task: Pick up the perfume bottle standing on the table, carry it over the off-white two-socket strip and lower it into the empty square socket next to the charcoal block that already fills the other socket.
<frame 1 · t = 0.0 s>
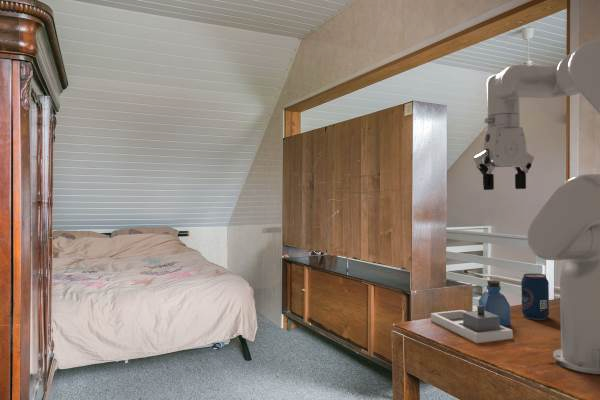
hand: (504, 189, 117), 37 cm above the table, tool pointing down, fingers open, 9 cm apart
charcoal plug block: (481, 334, 112), resting on socket strip
soda can: (535, 317, 130), on the table
perfume bottle: (494, 326, 123), on the table
socket strip: (469, 332, 117), on the table
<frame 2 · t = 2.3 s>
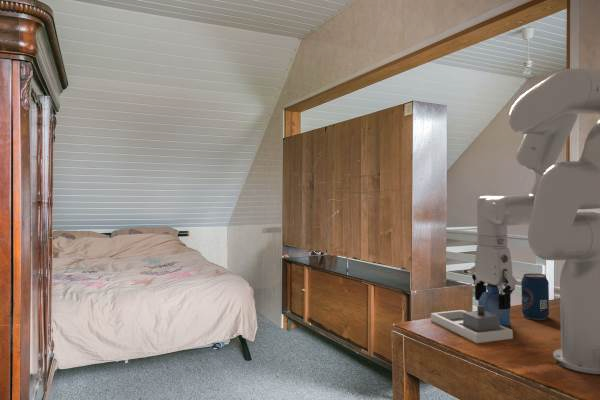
hand: (492, 304, 123), 6 cm above the table, tool pointing down, fingers open, 9 cm apart
nothing on the table moved.
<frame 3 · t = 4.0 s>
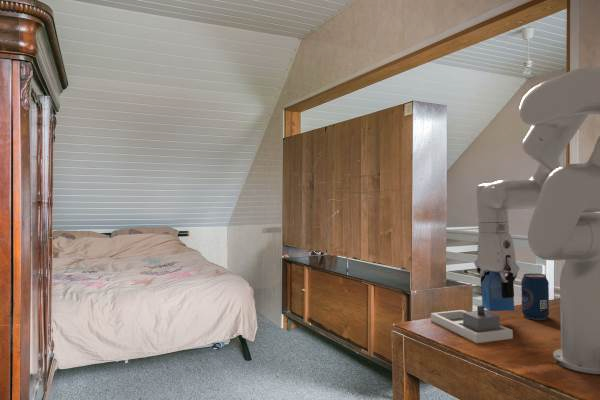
hand: (497, 294, 121), 9 cm above the table, tool pointing down, fingers closed on perfume bottle, 7 cm apart
perfume bottle: (498, 309, 121), point 5 cm above the table, touching gripper
everything else where it was.
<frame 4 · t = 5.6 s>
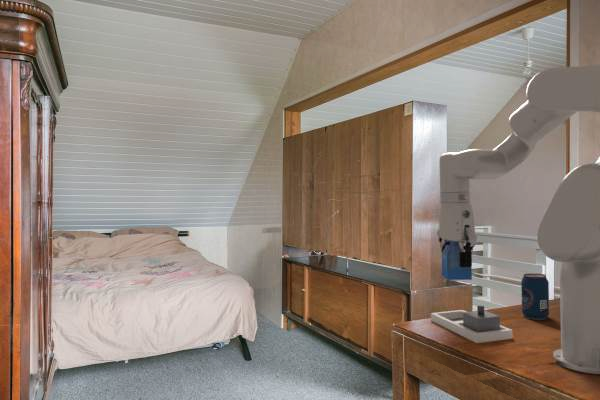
hand: (456, 264, 122), 17 cm above the table, tool pointing down, fingers closed on perfume bottle, 7 cm apart
perfume bottle: (456, 278, 122), point 13 cm above the table, touching gripper
everything else where it was.
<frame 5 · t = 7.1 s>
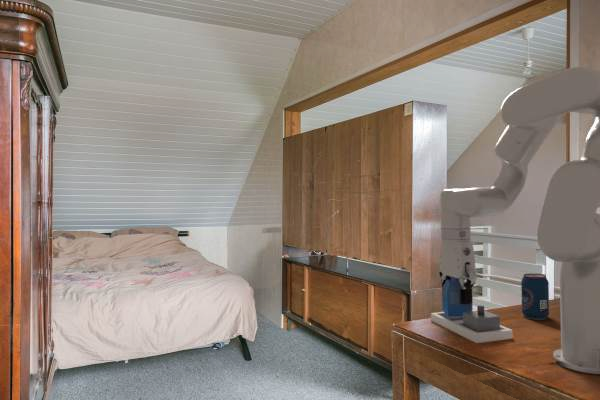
hand: (456, 299, 122), 7 cm above the table, tool pointing down, fingers closed on perfume bottle, 7 cm apart
perfume bottle: (456, 313, 122), point 4 cm above the table, touching gripper
everything else where it was.
when the fingers open (6 cm above the table, at t = 8.2 s): perfume bottle stays where it is, resting on socket strip.
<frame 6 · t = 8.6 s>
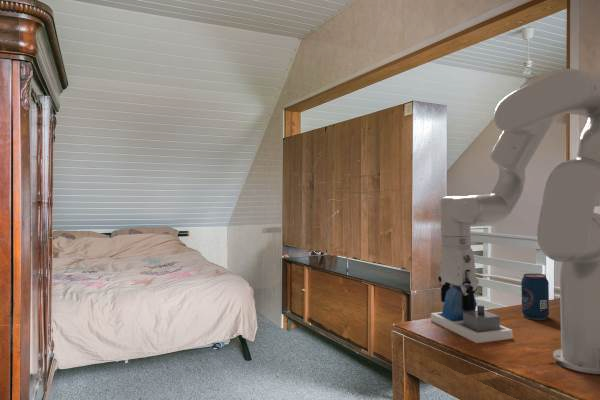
hand: (457, 305, 122), 6 cm above the table, tool pointing down, fingers open, 9 cm apart
perfume bottle: (456, 319, 123), point 2 cm above the table, touching socket strip
everything else where it was.
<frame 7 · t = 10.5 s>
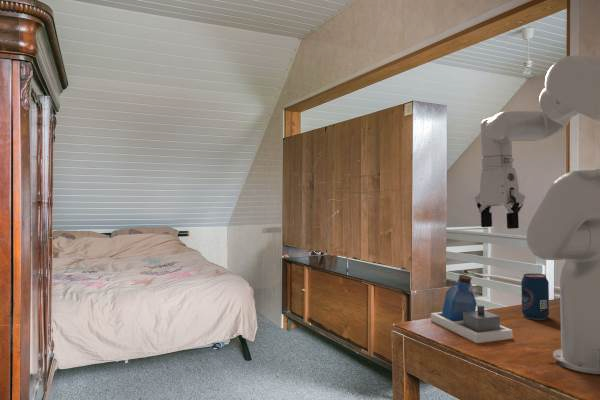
hand: (499, 227, 122), 26 cm above the table, tool pointing down, fingers open, 9 cm apart
nothing on the table moved.
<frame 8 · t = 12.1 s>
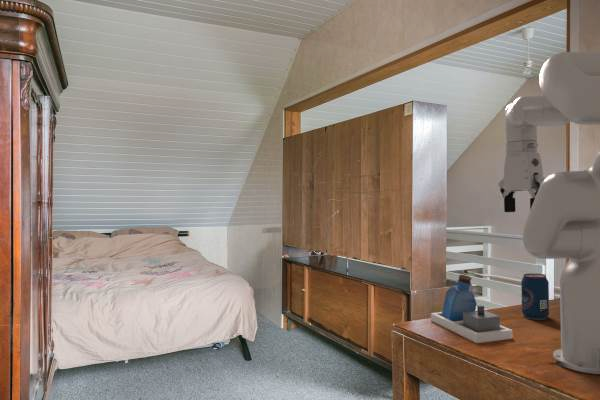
hand: (522, 212, 122), 30 cm above the table, tool pointing down, fingers open, 9 cm apart
nothing on the table moved.
at the end: perfume bottle 0.4 cm from the target spot on the socket strip, point 1.9 cm above the socket strip's base; perfume bottle tilted 13°; the gripper is holding nothing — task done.
